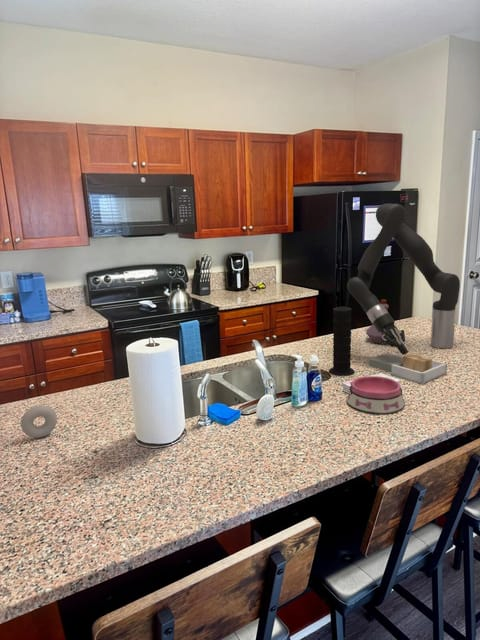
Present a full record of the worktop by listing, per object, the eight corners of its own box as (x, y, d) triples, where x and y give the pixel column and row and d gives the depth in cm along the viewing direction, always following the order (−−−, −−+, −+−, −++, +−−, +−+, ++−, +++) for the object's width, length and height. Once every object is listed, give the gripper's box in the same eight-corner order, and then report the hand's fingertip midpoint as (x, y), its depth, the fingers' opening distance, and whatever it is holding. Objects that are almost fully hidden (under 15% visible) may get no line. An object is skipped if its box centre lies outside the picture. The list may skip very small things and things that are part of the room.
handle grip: (331, 376, 170) (357, 375, 170) (331, 309, 164) (358, 308, 164) (326, 367, 180) (351, 366, 180) (327, 304, 174) (352, 303, 174)
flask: (359, 337, 220) (360, 298, 215) (391, 335, 222) (392, 296, 217) (372, 347, 204) (374, 304, 199) (406, 344, 206) (408, 302, 201)
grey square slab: (387, 359, 187) (387, 352, 186) (412, 366, 177) (413, 359, 177) (369, 365, 180) (369, 358, 179) (394, 373, 170) (394, 366, 170)
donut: (24, 444, 129) (18, 412, 127) (22, 439, 132) (17, 408, 129) (60, 434, 134) (55, 403, 132) (58, 429, 137) (53, 399, 134)
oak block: (411, 353, 173) (432, 358, 165) (410, 367, 174) (431, 374, 167) (403, 356, 170) (424, 361, 163) (402, 370, 171) (423, 377, 164)
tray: (415, 365, 178) (416, 355, 177) (446, 373, 168) (447, 363, 167) (391, 374, 169) (391, 364, 168) (422, 384, 159) (422, 373, 158)
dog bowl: (345, 391, 157) (345, 372, 155) (400, 392, 153) (401, 374, 152) (347, 414, 139) (347, 393, 138) (409, 416, 136) (410, 395, 134)
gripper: (375, 315, 172) (401, 352, 165) (396, 309, 180) (422, 345, 173) (364, 326, 178) (389, 362, 171) (384, 320, 185) (409, 354, 178)
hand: (405, 353), depth 172 cm, fingers closed
